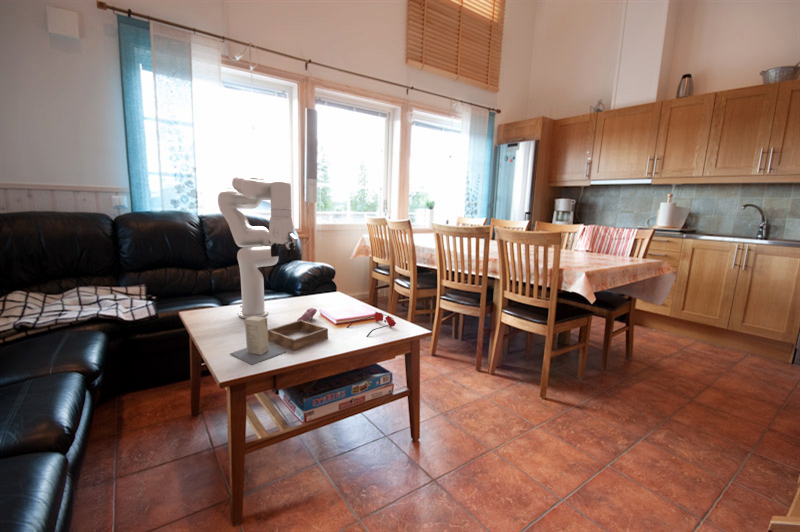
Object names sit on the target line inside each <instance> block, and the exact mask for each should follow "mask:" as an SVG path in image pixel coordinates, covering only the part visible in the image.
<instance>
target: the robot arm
mask: <svg viewBox="0 0 800 532" xmlns="http://www.w3.org/2000/svg"><path fill="white" fill-rule="evenodd" d="M231 185H232V187H233V189H226V190H222V191H221V192H219V194H218V196H217V203H218V208H219V211H220V213H221V215H222V216H223V218H224V219H225V221H226V222H227V224H228V227H229V229H230V233H231V235H232V238H233V241H234V242H235V244H236V245H237V247H239V248H240V249H239V250H238V251H237V253H236V254H237V255H236V259H237V262H238V265H239V273H240V289H241V290H240V291H241V304H240V305H239V308H241V311H239V313H238V317H239V318H242V319H247V318H249V317H252V316H258V317H267V316H268V315H269V310H268V309H266V307H265V286H264V285H265V284H264V276H263V273H262V272H261V271H260V270H259V269H258V268H261V267H263V268H264V267H271V266H275V265H277V263H278V262H279V256H280V253H279V246H278V245H285V247H286V249H285V251H286V252H285V253H286V255H285V256H286V260H288V261H289V260H295V249H296V246H297V242H298V237H296V235H294V233H295V232H294V223H293V218H292V185H291V183H290V182H289V181H285V180H267V179H266V178H265V177H264V176H263V175H258V174H244V173H241V174H238V175H235V176H234V177H233V179H232V181H231ZM262 201H270V218H269V223H268V225H269V226H268V228H267V227H265V226H262V225H261V226H259V225H257V226H256V225H255V226H252V225H250V222H249V220H248V217H247V216H246V215H245V214H244V213H242V212H241V209H244V210H245V209H249V210H250V209H257V208H258V207H259V206H260V204H261V203H262ZM239 209H240V210H239Z"/></svg>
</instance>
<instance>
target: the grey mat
mask: <svg viewBox="0 0 800 532" xmlns="http://www.w3.org/2000/svg"><path fill="white" fill-rule="evenodd" d="M285 353H286V350H284V349H281V348H279V347H276V346H274V345H271V344H270V343H269V351H267V352H265V353H264V354H262V355H259V354H253V353H248V352H247V347H245V348H242V349H238V350H237V351H233V352H230V355H231V356H233V357H235V358H237V359H238V360H239V359H240V360H241V361H244V362H245V363H247V362H248V364H249V363H250V364H249V365H251V364H252V365H251V366H254V365H255V363H256V364H259V363H261V362H264V361H266V360H270V359H272V358H275V357H277V356H279V355H282V354H285ZM274 356H275V357H274ZM258 362H259V363H258Z"/></svg>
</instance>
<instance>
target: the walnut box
mask: <svg viewBox="0 0 800 532" xmlns="http://www.w3.org/2000/svg"><path fill="white" fill-rule="evenodd" d="M328 330H329V329H328V328H327V327H324V326H321V325H319V324H315V323H312V322H309V321H308V322H306V321H303V320H299V321H297V320H296V321H293V322H289V323H286V324H283V325H279V326H276V327H273V328H270V329H269V328H268V341H269V342H270V343H274V344H275V345H278V346H280V347H283V348H285V349H288V350H290V349H291V351H293V352H295V351H298V349H299V350H301V349H305V348H306V346H307V347H309V346H312V345H314V344H317V343H319V342H322V341H324V340H326V339H329V336H328V335H329V331H328ZM299 331H300V332H301V331H302V332H305V333H308V334H305V335H303V336H300V337H296V338H293V337H290V336H288V335H291V334H294V333H296V332H299Z"/></svg>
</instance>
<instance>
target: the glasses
mask: <svg viewBox="0 0 800 532" xmlns="http://www.w3.org/2000/svg"><path fill="white" fill-rule="evenodd" d="M384 316H385V317H384ZM371 318H374V320H375V322H380V321H381V322H382V321H383V320H384V319H385V320H384V323H385V324H386V323H387V324H386V325H383V326H380V327H376V328H373V329H371V330H370V332H368V334H367V335H366V338H368V337H369V336H370V335H371V333H372V332H373V331H376V330H378V329H383V328H386V327H390V328H393V327H395V326H396V325H397V322H396V321H395V320H394V318H393V317H392V316H390V315H387V314H384V313H381V312H378V311H375V312H374V315H371V316H369V317H364V318H360V319H357V320H354V321H352V322H351V323H350V324H349V325H347V327H346V329H348V328H349V327H351V325H352V324H354V323H356V322H359V321H363V320H366V319H367V320H368V319H371Z"/></svg>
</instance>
